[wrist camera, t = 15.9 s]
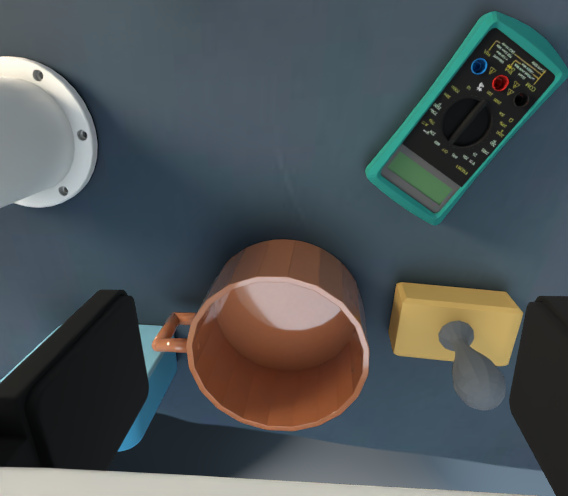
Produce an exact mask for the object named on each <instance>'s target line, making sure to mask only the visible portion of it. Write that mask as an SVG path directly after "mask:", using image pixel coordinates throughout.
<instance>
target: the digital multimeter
mask: <svg viewBox="0 0 568 496" xmlns="http://www.w3.org/2000/svg"><path fill="white" fill-rule="evenodd" d="M567 77H568V68H567V67H566V65H565V64H564V62H563V61H562V59H561V58H560V56H559V55H558V53H557V52H556V51H555V49H554V48H553V47H552V46H551V45H550V43H549V42H548V41H547V40H546V39H545V38H544V37H543V36H541V35H540V34H539V33H538V32H537V31H535V30H534V29H533V28H531V27H530V26H528V25H526V24H524V23H522V22H520V21H518V20H516V19H514V18H512V17H509V16H507V15H504V14H502V13H499V12H497V11H493V12H490V13H487V14H484V15H483V16H481V17H480V18H479V20H478V21H477V23H476V24H475V26H474V27H473V28H472V30H471V31H470V33H469V34H468V36H467V37H466V39H465V40H464V41H463V43H462V44H461V46H460V47H459V49H458V50H457V52H456V53H455V54H454V56H453V57H452V58H451V60H450V61H449V63H448V64H447V65H446V67H445V68H444V70H443V71H442V72H441V74H440V75H439V76H438V78H437V79H436V81H435V82H434V83H433V85H432V86H431V87H430V89H429V90H428V92H427V93H426V94H425V95H424V97H423V98H422V99H421V101H420V102H419V103H418V104H417V106H416V107H415V108H414V110H413V111H412V112H411V113H410V115H409V116H408V117H407V119H406V120H405V121H404V122H403V124H402V125H401V126H400V128H399V129H398V130H397V131H396V132H395V134H394V135H393V136H392V137H391V138H390V140H389V141H388V142H387V143H386V144H385V146H384V147H383V148H382V149H381V150H380V152H379V153H378V154H377V155H376V156H375V158H374V159H373V160H372V161H371V162H370V164H369V165H368V166H367V167H366V170H365V173H366V176H367V178H368V180H369V181H370V182H372V183H373V184H374V185H375V186H376V187H377V188H379V189H380V190H381V191H382V192H383V193H385V194H386V195H387V196H388V197H390V198H391V199H392V200H394V201H395V202H396V203H398V204H399V205H401V206H402V207H403V208H405V209H406V210H408V211H410V212H411V213H413V214H414V215H416V216H418V217H419V218H421V219H423V220H424V221H426V222H428V223H430V224H432V225H438V224H439V223H441V221H442V220H443V219H444V218H445V216H446V215H447V214H448V213H449V211H450V210H451V209H452V208H453V206H454V205H455V204H456V203H457V201H458V200H459V199H460V198H461V196H462V195H463V194H464V193H465V191H466V190H467V189H468V188H469V186H470V185H471V184H472V183H473V181H474V180H475V179H476V178H477V177H478V176H479V174H480V173H481V172H482V171H483V170H484V168H485V167H486V166H487V165H488V164H489V163H490V161H491V160H492V159H493V158H494V157H495V156H496V154H497V153H498V152H499V151H500V150H501V149H502V147H503V146H504V145H505V144H506V143H507V142H508V141H509V140H510V139H511V138H512V136H513V135H514V134H515V133H516V132H517V131H518V130H519V129H520V128H521V127H522V126H523V124H524V123H525V122H526V121H527V120H528V119H529V118H530V117H531V116H532V115H533V114H534V113H535V111H536V110H537V109H538V108H539V107H540V106H541V105H542V104H543V103H544V102H545V101H546V100H547V99H548V98H549V97H550V96H551V95H552V94H553V93H554V92H555V90H556V89H557V88H558V87H559V86H560V85H561V84H562V83H563V82H564V81H565V80H566V79H567Z"/></svg>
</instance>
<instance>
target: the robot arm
mask: <svg viewBox="0 0 568 496" xmlns="http://www.w3.org/2000/svg"><path fill="white" fill-rule="evenodd" d="M42 74H43V76H42ZM85 132H86V134H87V136H86V135H85ZM97 147H98V143H97V136H96V130H95V127H94V123H93V120H92V117H91V115H90V113H89V111H88V109H87V107H86V105H85V103H84V101H83V100H82V98H81V97H80V96H79V94H78V93H77V91H76V90H75V89H74V88H73V87H72V86H71V85H70V84H69V83H68V82H67V81H66V80H65V79H64V78H63V77H62V76H61V75H59V74H58V73H56V72H55V71H54V70H52V69H51V68H49V67H47V66H45V65H43V64H41V63H39V62H37V61H33V60H30V59H26V58H21V57H10V56H6V57H0V208H2V207H4V206H7V205H9V204H12V203H15V204H19V205H22V206H26V207H36V208H41V207H51V206H54V205H57V204H60V203H63V202H65V201H67V200H69V199H71V198H73V197H74V196H75V195H76V194H78V193H79V192H80V191H81V190H82V189H83V188H84V187H85V185H86V184H87V183H88V182H89V180H90V178H91V176H92V174H93V172H94V168H95V164H96V160H97ZM148 393H149V382H148V376H147V370H146V365H145V359H144V353H143V348H142V342H141V336H140V330H139V325H138V319H137V313H136V308H135V302H134V299H133V297H132V296H128V295H127V293H126V292H125V291H124V290H99V291H98V292H96V293H95V294H94V295H93V296H92V297H91V298H90V299H89V300H88V301H87V302H86V303H85V304H84V305H83V306H82V307H80V308H79V309H78V310H77V311H76V312H75V313H74V314H73V315H72V316H71V317H70V318H69V319H68V320H67V321H66V322H64V323H63V324H62V325H61V326H60V327H59V328H58V329H57V330H56V331H55V332H54V333H53V334H52V335H51V336H50V337H48V338H47V339H46V340H45V341H44V342H43V343H42V344H41V345H40V346H39V347H38V348H37V349H36V350H35V351H34V352H32V353H31V354H30V355H29V356H28V357H27V358H26V359H25V360H24V361H23V362H22V363H21V364H20V365H19V366H18V367H17V368H15V369H14V370H13V371H12V372H11V373H10V374H9V375H8V376H7V377H6V378H5V379H4V380H3V381H2V382H1V383H0V496H536V495H519V494H504V493H488V492H472V491H456V490H438V489H420V488H402V487H385V486H367V485H350V484H349V485H348V484H332V483H314V482H296V481H280V480H262V479H244V478H227V477H226V478H225V477H210V476H193V475H175V474H154V473H136V472H116V471H107V469H108V468H109V466H110V464H111V462H112V460H113V459H114V457H115V455H116V453H117V452H118V450H119V448H120V446H121V444H122V443H123V441H124V439H125V437H126V435H127V434H128V432H129V430H130V428H131V427H132V425H133V423H134V421H135V419H136V418H137V416H138V414H139V412H140V410H141V409H142V407H143V405H144V403H145V402H146V400H147V397H148ZM509 403H510V409H511V413H512V415H513V417H514V419H515V421H516V423H517V424H518V426H519V428H520V430H521V432H522V434H523V435H524V437H525V439H526V441H527V443H528V445H529V447H530V448H531V450H532V452H533V454H534V456H535V458H536V460H537V461H538V463H539V465H540V467H541V469H542V471H543V472H544V474H545V476H546V478H547V480H548V482H549V484H550V485H551V487H552V489H553V491H554V493H555V495H556V496H568V296H539V297H537V299H536V300H535V302H530V303H529V304H528V306H527V309H526V314H525V319H524V324H523V329H522V335H521V340H520V345H519V350H518V356H517V361H516V366H515V372H514V377H513V382H512V387H511V393H510V399H509Z"/></svg>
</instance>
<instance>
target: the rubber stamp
mask: <svg viewBox="0 0 568 496" xmlns="http://www.w3.org/2000/svg"><path fill="white" fill-rule="evenodd" d="M522 316H523V312H522V311H521V310H520V308H519V307H518V306H517V305H516V303H515V302H514V301H513V300H512V298H511V297H510V296H509V295H508V294H507V292H503V291H492V290H481V289H470V288H459V287H449V286H438V285H427V284H416V283H405V282H400V283H397V284H396V289H395V295H394V301H393V307H392V313H391V319H390V325H389V331H388V333H389V337H390V341H391V346H392V350H393V353H394V354H396V355H398V356H406V357H416V358H426V359H435V360H445V361H454V363H453V368H452V375H453V385H454V389H455V391H456V393H457V394H458V396H459V397H460V398H461V399H462V400H463V401H464V402H465V403H466V404H467V405H468V406H470V407H472V408H475V409H478V410H491V409H493V408H495V407H497V406H499V405H500V403H501V402H502V400H503V399H504V397H505V379H504V376H503V374H502V373H501V371H500V370H499V369H498V368H497V367H496V366H505V365H508V363H509V360H510V357H511V353H512V350H513V346H514V343H515V340H516V336H517V333H518V330H519V326H520V323H521V319H522Z"/></svg>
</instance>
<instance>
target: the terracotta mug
mask: <svg viewBox="0 0 568 496" xmlns="http://www.w3.org/2000/svg"><path fill="white" fill-rule="evenodd" d="M179 325H190V330H189V334H188V338H172V336H173V334H174V333H175V331H176V329H177V328H178V326H179ZM152 349H153V350H154V351H156V352H175V353H187V356H188V363H189V369H190V371H191V373H192V375H193V377H194V379H195V381H196V383H197V385H198V387H199V389H200V390H201V392H202V393H203V394H204V395H205V396H206V397H207V398H208V399H209V400H210V401H211V402H212V403H213V404H214V405H215V406H216V407H217V408H218V409H219V410H221V411H223V412H224V413H226V414H228V415H229V416H231V417H233V418H234V419H236V420H238V421H239V422H241V423H245V424H248V425H251V426H255V427H258V428H261V429H265V430H266V429H267V430H278V431H297V430H301V429H306V428H311V427H316V426H319V425H321V424H323V423H325V422H327V421H329V420H331V419H333V418H335V417H337V416H338V415H340V414H342V413H343V412H344V411H345V410H346V409H347V408H348V407H349V406H350V405H351V404H352V403H353V402H354V400H355V399H356V398H357V397H358V396H359V394H360V392H361V390H362V387H363V385H364V383H365V381H366V378H367V376H368V373H369V351H370V350H369V343H368V336H367V329H366V322H365V315H364V308H363V301H362V298H361V295H360V292H359V289H358V286H357V284H356V281H355V279H354V278H353V276H352V275H351V274H350V272H349V271H348V269H347V268H346V267H345V266H344V265H343V264H342V263H341V262H340V261H339V260H338V259H337V258H335V257H334V256H333V255H332V254H330V253H328V252H327V251H325V250H324V249H322V248H319V247H317V246H315V245H312V244H309V243H306V242H302V241H297V240H288V239H278V240H269V241H264V242H260V243H257V244H254V245H251V246H249V247H247V248H245V249H243V250H242V251H240V252H239V253H237V254H236V255H235V256H233V257H232V258H231V259H230V260H228V261H227V263H226V264H225V265H224V267H223V268H222V270H221V271H220V273H219V274H218V276H217V277H216V278H215V280H214V282H213V284H212V285H211V287H210V289H209V291H208V293H207V294H206V296H205V298H204V300H203V302H202V303H201V305H200V307H199V309H198V310H197V312H173V313H172V314H171V315H170V316H169V318H168V319H167V321H166V322H165V324H164V325H163V327H162V328H161V330H160V331H159V333H158V334H157V336H156V337H155V339H154V340H153V342H152Z"/></svg>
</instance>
